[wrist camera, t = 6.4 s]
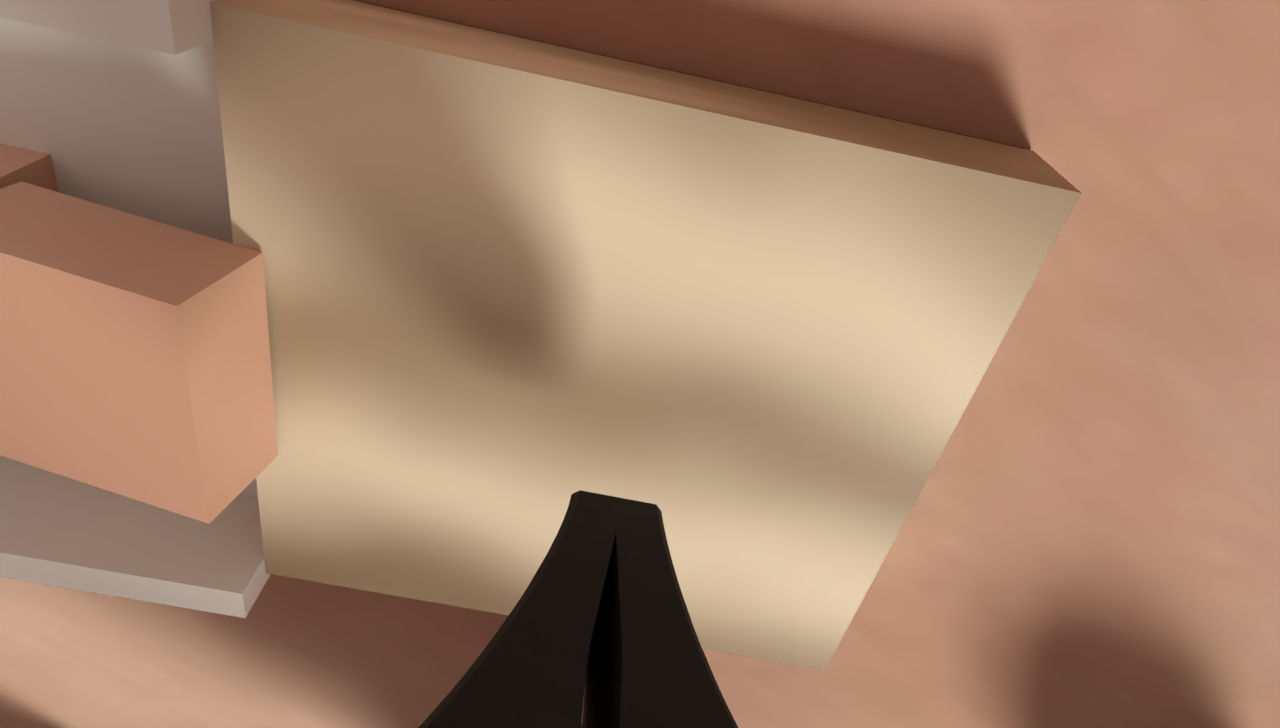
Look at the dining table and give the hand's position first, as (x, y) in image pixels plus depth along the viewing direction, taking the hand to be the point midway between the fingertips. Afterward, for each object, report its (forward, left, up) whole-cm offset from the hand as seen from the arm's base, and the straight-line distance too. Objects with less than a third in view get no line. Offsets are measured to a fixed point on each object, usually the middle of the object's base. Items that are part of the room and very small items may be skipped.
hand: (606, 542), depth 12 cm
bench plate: (0, +1, -5) cm, 5 cm away
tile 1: (0, +9, -3) cm, 9 cm away
